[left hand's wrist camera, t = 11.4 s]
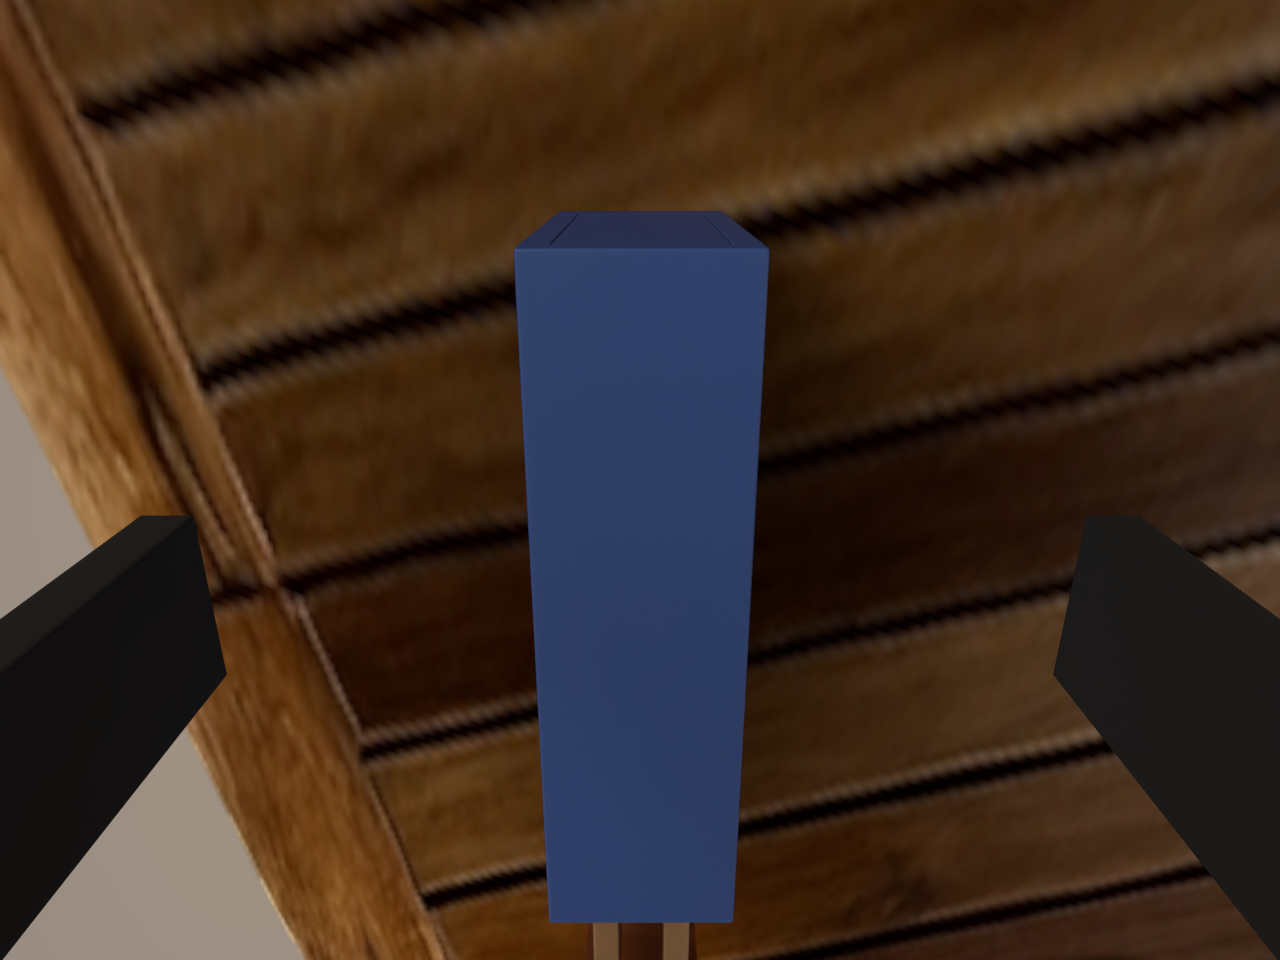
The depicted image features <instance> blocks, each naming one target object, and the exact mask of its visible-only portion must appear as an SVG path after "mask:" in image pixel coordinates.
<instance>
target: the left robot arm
mask: <svg viewBox="0 0 1280 960" xmlns="http://www.w3.org/2000/svg"><path fill="white" fill-rule="evenodd" d="M226 675H227V674H226V669H225V664H224V659H223V655H222V650H221V645H220V640H219V636H218V631H217V626H216V621H215V617H214V612H213V607H212V602H211V598H210V593H209V588H208V583H207V579H206V574H205V569H204V564H203V560H202V555H201V550H200V545H199V541H198V536H197V531H196V527H195V522H194V517H193V516H140V517H139V518H137V519H136V520H135V521H133V522H132V523H130V524H129V525H128V526H126V527H125V528H124V529H122V530H121V531H120V532H118V533H117V534H115V535H114V536H113V537H111V538H110V539H109V540H107V541H106V542H105V543H103V544H102V545H101V546H99V547H98V548H96V549H95V550H94V551H92V552H91V553H90V554H88V555H87V556H86V557H84V558H83V559H81V560H80V561H79V562H77V563H76V564H75V565H73V566H72V567H71V568H69V569H68V570H67V571H65V572H64V573H62V574H61V575H60V576H58V577H57V578H56V579H54V580H53V581H52V582H50V583H49V584H47V585H46V586H45V587H43V588H42V589H41V590H39V591H38V592H37V593H35V594H34V595H33V596H31V597H30V598H28V599H27V600H26V601H24V602H23V603H22V604H20V605H19V606H17V607H16V608H15V609H13V610H12V611H11V612H9V613H8V614H7V615H5V616H4V617H3V618H1V619H0V960H3V958H4V957H5V956H6V955H7V953H8V952H9V951H10V950H11V948H12V947H13V946H14V945H15V943H16V942H17V941H18V939H19V938H20V937H21V936H22V934H23V933H24V932H25V931H26V929H27V928H28V927H29V925H30V924H31V923H32V922H33V920H34V919H35V918H36V917H37V915H38V914H39V913H40V912H41V910H42V909H43V908H44V906H45V905H46V904H47V903H48V901H49V900H50V899H51V897H52V896H53V895H54V894H55V892H56V891H57V890H58V889H59V887H60V886H61V885H62V884H63V882H64V881H65V880H66V878H67V877H68V876H69V875H70V873H71V872H72V871H73V870H74V868H75V867H76V866H77V864H78V863H79V862H80V861H81V859H82V858H83V857H84V856H85V854H86V853H87V852H88V850H89V849H90V848H91V847H92V845H93V844H94V843H95V842H96V840H97V839H98V838H99V836H100V835H101V834H102V833H103V831H104V830H105V829H106V827H107V826H108V825H109V824H110V822H111V821H112V820H113V819H114V817H115V816H116V815H117V814H118V812H119V811H120V810H121V808H122V807H123V806H124V805H125V803H126V802H127V801H128V800H129V798H130V797H131V796H132V794H133V793H134V792H135V791H136V789H137V788H138V787H139V786H140V784H141V783H142V782H143V781H144V779H145V778H146V777H147V775H148V774H149V773H150V772H151V770H152V769H153V768H154V766H155V765H156V764H157V763H158V761H159V760H160V759H161V758H162V756H163V755H164V754H165V752H166V751H167V750H168V749H169V747H170V746H171V745H172V744H173V742H174V741H175V740H176V739H177V737H178V736H179V735H180V733H181V732H182V731H183V730H184V728H185V727H186V726H187V725H188V723H189V722H190V721H191V719H192V718H193V717H194V716H195V714H196V713H197V712H198V711H199V709H200V708H201V707H202V705H203V704H204V703H205V702H206V700H207V699H208V698H209V697H210V695H211V694H212V693H213V691H214V690H215V689H216V688H217V686H218V685H219V684H220V683H221V681H222V680H223V679H224V678H225V676H226ZM1053 675H1054V676H1055V678H1056V679H1057V680H1058V681H1059V683H1060V684H1061V685H1062V686H1063V688H1064V689H1065V690H1066V691H1067V693H1068V694H1069V695H1070V697H1071V698H1072V699H1073V700H1074V702H1075V703H1076V704H1077V705H1078V707H1079V708H1080V709H1081V711H1082V712H1083V713H1084V714H1085V716H1086V717H1087V718H1088V719H1089V721H1090V722H1091V723H1092V725H1093V726H1094V727H1095V728H1096V730H1097V731H1098V732H1099V733H1100V735H1101V736H1102V737H1103V739H1104V740H1105V741H1106V742H1107V744H1108V745H1109V746H1110V747H1111V749H1112V750H1113V751H1114V753H1115V754H1116V755H1117V756H1118V758H1119V759H1120V760H1121V761H1122V763H1123V764H1124V765H1125V767H1126V768H1127V769H1128V770H1129V772H1130V773H1131V774H1132V775H1133V777H1134V778H1135V779H1136V781H1137V782H1138V783H1139V784H1140V786H1141V787H1142V788H1143V789H1144V791H1145V792H1146V793H1147V795H1148V796H1149V797H1150V798H1151V800H1152V801H1153V802H1154V803H1155V805H1156V806H1157V807H1158V808H1159V810H1160V811H1161V812H1162V814H1163V815H1164V816H1165V817H1166V819H1167V820H1168V821H1169V822H1170V824H1171V825H1172V826H1173V828H1174V829H1175V830H1176V831H1177V833H1178V834H1179V835H1180V836H1181V838H1182V839H1183V840H1184V842H1185V843H1186V844H1187V845H1188V847H1189V848H1190V849H1191V850H1192V852H1193V853H1194V854H1195V856H1196V857H1197V858H1198V859H1199V861H1200V862H1201V863H1202V864H1203V866H1204V867H1205V868H1206V870H1207V871H1208V872H1209V873H1210V875H1211V876H1212V877H1213V878H1214V880H1215V881H1216V882H1217V884H1218V885H1219V886H1220V887H1221V889H1222V890H1223V891H1224V892H1225V894H1226V895H1227V896H1228V898H1229V899H1230V900H1231V901H1232V903H1233V904H1234V905H1235V906H1236V908H1237V909H1238V910H1239V912H1240V913H1241V914H1242V915H1243V917H1244V918H1245V919H1246V920H1247V922H1248V923H1249V924H1250V925H1251V927H1252V928H1253V929H1254V931H1255V932H1256V933H1257V934H1258V936H1259V937H1260V938H1261V939H1262V941H1263V942H1264V943H1265V945H1266V946H1267V947H1268V948H1269V950H1270V951H1271V952H1272V953H1273V955H1274V956H1275V957H1276V959H1277V960H1280V619H1279V618H1277V617H1276V616H1275V615H1273V614H1272V613H1271V612H1269V611H1268V610H1267V609H1265V608H1264V607H1263V606H1261V605H1260V604H1258V603H1257V602H1256V601H1254V600H1253V599H1252V598H1250V597H1249V596H1248V595H1246V594H1245V593H1243V592H1242V591H1241V590H1239V589H1238V588H1237V587H1235V586H1234V585H1233V584H1231V583H1230V582H1228V581H1227V580H1226V579H1224V578H1223V577H1222V576H1220V575H1219V574H1218V573H1216V572H1215V571H1214V570H1212V569H1211V568H1209V567H1208V566H1207V565H1205V564H1204V563H1203V562H1201V561H1200V560H1199V559H1197V558H1196V557H1194V556H1193V555H1192V554H1190V553H1189V552H1188V551H1186V550H1185V549H1184V548H1182V547H1181V546H1179V545H1178V544H1177V543H1175V542H1174V541H1173V540H1171V539H1170V538H1169V537H1167V536H1166V535H1165V534H1163V533H1162V532H1160V531H1159V530H1158V529H1156V528H1155V527H1154V526H1152V525H1151V524H1150V523H1148V522H1147V521H1145V520H1144V519H1143V518H1141V517H1140V516H1087V517H1086V522H1085V526H1084V531H1083V536H1082V541H1081V545H1080V550H1079V555H1078V560H1077V564H1076V569H1075V574H1074V579H1073V583H1072V588H1071V593H1070V598H1069V602H1068V607H1067V612H1066V617H1065V621H1064V626H1063V631H1062V636H1061V640H1060V645H1059V650H1058V655H1057V659H1056V664H1055V669H1054V674H1053Z"/></svg>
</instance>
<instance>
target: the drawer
mask: <svg viewBox="0 0 1280 960" xmlns="http://www.w3.org/2000/svg"><path fill="white" fill-rule="evenodd" d="M585 960H697V950H696V935H695V923H587V935H586V949H585Z"/></svg>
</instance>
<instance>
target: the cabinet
mask: <svg viewBox="0 0 1280 960" xmlns="http://www.w3.org/2000/svg"><path fill="white" fill-rule="evenodd" d="M769 255H770V251H769V248H767V247H766V246H765V245H764V244H763V243H762V242H760V241H759V240H758V239H756V238H755V237H754V236H753V235H751V234H750V233H749V232H747V231H746V230H745V229H744V228H742V227H741V226H740V225H738V224H737V223H736V222H735V221H733V220H732V219H731V218H729V217H728V216H727V215H726V214H724V213H723V212H721V211H562V212H560V213H558V214H556V215H555V216H554V217H553V218H551V219H550V220H549V221H548V222H546V223H545V224H544V225H543V226H541V227H540V228H539V229H538V230H536V231H535V232H534V233H533V234H531V235H530V236H529V237H528V238H526V239H525V240H524V241H523V242H521V243H520V244H519V245H518V246H517V247H516V248H515V249H514V267H515V286H516V304H517V323H518V342H519V361H520V379H521V398H522V417H523V436H524V455H525V473H526V492H527V511H528V530H529V549H530V567H531V586H532V605H533V624H534V643H535V661H536V680H537V699H538V718H539V737H540V755H541V774H542V793H543V812H544V830H545V849H546V868H547V887H548V906H549V920H550V922H552V923H731V922H732V921H733V916H734V897H735V879H736V861H737V842H738V824H739V806H740V787H741V769H742V751H743V732H744V714H745V696H746V677H747V659H748V640H749V622H750V604H751V585H752V567H753V549H754V530H755V512H756V494H757V475H758V457H759V438H760V420H761V402H762V383H763V365H764V347H765V328H766V310H767V292H768V273H769Z"/></svg>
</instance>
